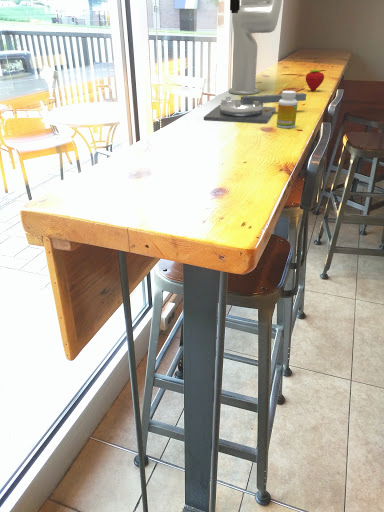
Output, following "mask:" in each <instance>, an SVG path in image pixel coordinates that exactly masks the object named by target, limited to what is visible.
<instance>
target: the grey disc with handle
mask: <svg viewBox="0 0 384 512" xmlns="http://www.w3.org/2000/svg"><path fill="white" fill-rule="evenodd" d="M281 99H282V93H279V94H265V95H263V94H261V95H241V96H240V99H232V96H225V99H221V102H220V103H219V105H220V112H221V113H223V114H226V115H232V116H251V115H258V114H261V113H262V112H263V107H264V104H271V103H279V100H281ZM295 99H296V100H297V102H304V101H306V100H307V94H306V93H304V92H296V97H295Z"/></svg>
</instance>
